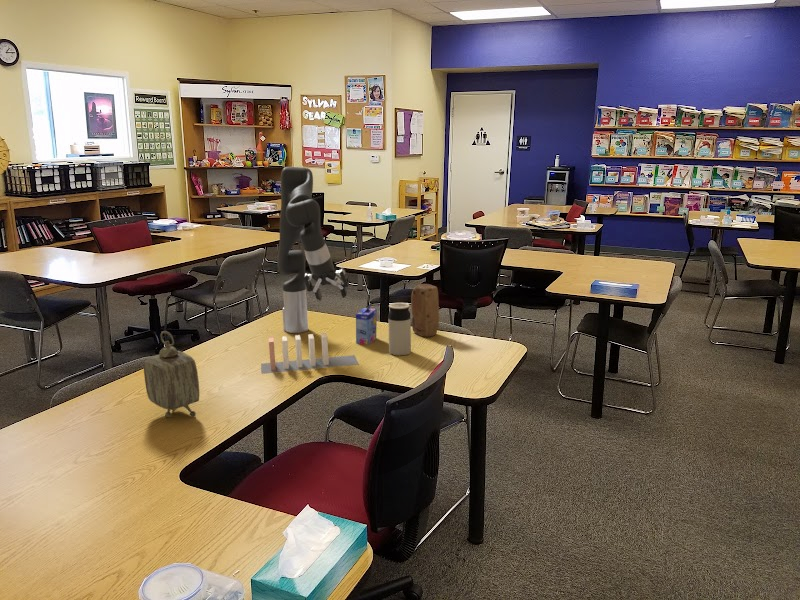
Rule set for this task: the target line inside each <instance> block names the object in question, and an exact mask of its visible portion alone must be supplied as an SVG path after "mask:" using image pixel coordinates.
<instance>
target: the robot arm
mask: <svg viewBox="0 0 800 600" xmlns="http://www.w3.org/2000/svg"><path fill="white" fill-rule="evenodd" d="M313 189H314V175H313V172H312V170H311V169H310V168H307V167H301V166H300V167H299V166H285V167H283V168H282V170H281V174H280V200H281V201H280V202H281V203H280V217H279V244H278V251H277V258H276V259H277V262H276V263H277V270H278V272H279V273H280V274H285V275H287V274H290V275H291V274H295V275H294V277H291V278H290V279H289V280H286V281H285V282H283V283H282V294H283V307H282V309H281V310H282V324H283V325H282V326H283V331H285V332H286V333H291V334H300V333H304V332H307V331H309V322H308V321H309V316H308V303H307V302H308V301H307V292H313V293H314V297H315V298H316V299H317V300H318V301H322V300H323V296H322V294H321V290H320V288H319V287H320V285H321V286H327V285H333V286H335V287H338V288H339V290H340V291H339V292H340V294H341V297H342V298H346V296H347V294H348V291H347V288H348V287H349V283H350V280H349V277H348V275H347V272H346V269H345V268H344V267H341V268H340V269H339V270H336V269H335V266H334V263H333V260H332V257H331V254H330V251H329V250H330V249H328V246H327V244H326V241H325V238H324V235H323V231H322V228H321V227H322V226H321V207H320V204H319V203H318V202H317V201H316V200H315V199H313V197H312V195H313ZM308 224H310V225H308ZM305 225H308V226H307V227H305ZM299 241H300V242H301V245H302V247H303V248H302V249H303V250H301V249H292V250H291V248H292V247H293V246H294V245H296V243H297V242H299ZM306 261H307V265H308V267H309V269H310V272H311V273H309V272H306ZM312 279H313V280H314V281H315V284H314V285H313V284H312Z"/></svg>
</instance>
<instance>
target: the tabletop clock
mask: <svg viewBox="0 0 800 600" xmlns="http://www.w3.org/2000/svg"><path fill="white" fill-rule="evenodd" d="M163 334H165V335H167V336H168V337H169V338H170V340H171V344H170V341H169V340H166V341H165V340H164V339H163ZM159 338H160V341H161V342H162V344H163V345H165V346H164V347H162V348H161V349H160V350H159V353H158V354H155V355H152V356H149V357H147V359H146V360H145V361H144V362H143V373H144V374H143V375H144V384H145V390H146V394H147V398H148V400H149V401H150V402H151V403H153V404H154V405H156V406H158V407H160V408H163V409H165V410H167V412H165V414H164V416H165V417H166V418H167V419H168V418H170V417H171V416H172V413H171V412H170V411H174V410H177V409H180V408H185V409H186V410H187V411H188V412H189V416H190V417H192V418H194V417H196V414H197V413H196V411H194V410H193V411H192V409H191V408H190V406H189V405H191V404H195V403H197V402H199V401H200V381H199V374H198V369H197V364H196V361H195V360H196V359H194V358H193V357H192V356H191V355H190V354H187V353H185V352H183V351H181V350H177V348H176V347H175V346H174V345H175V339H174V337H173V334H172V333H171V332H169V331H167V330H163V331H161V333H160V337H159Z"/></svg>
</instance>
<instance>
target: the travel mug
mask: <svg viewBox="0 0 800 600" xmlns="http://www.w3.org/2000/svg"><path fill="white" fill-rule="evenodd" d="M388 307H389V312H388V353H389V354H390V355H392V354H393V356H397V355H403V356H407V355H409V354H411V352H412V332H411V331H412V330H411V327H412V318H411V312H410V307H411V304H409V303H407V302H392V303H390V304H389V305H388Z"/></svg>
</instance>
